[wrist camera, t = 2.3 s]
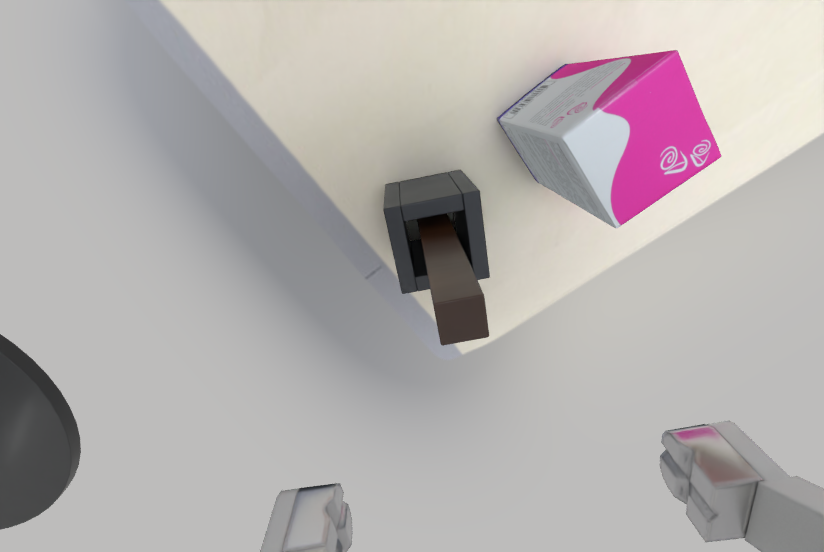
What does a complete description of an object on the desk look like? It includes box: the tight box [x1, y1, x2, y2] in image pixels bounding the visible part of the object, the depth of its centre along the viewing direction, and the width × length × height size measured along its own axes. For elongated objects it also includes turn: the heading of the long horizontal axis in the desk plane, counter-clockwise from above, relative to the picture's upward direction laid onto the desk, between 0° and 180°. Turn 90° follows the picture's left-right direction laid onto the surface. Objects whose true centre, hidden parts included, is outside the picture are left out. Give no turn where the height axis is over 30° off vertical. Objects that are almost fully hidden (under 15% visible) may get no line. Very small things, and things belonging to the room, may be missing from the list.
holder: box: [384, 170, 490, 294], centre depth 28 cm, size 6×6×7 cm
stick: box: [417, 213, 489, 345], centre depth 24 cm, size 2×2×16 cm
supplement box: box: [497, 50, 721, 228], centre depth 23 cm, size 6×6×12 cm
